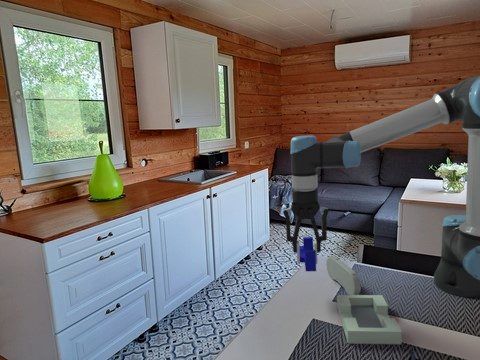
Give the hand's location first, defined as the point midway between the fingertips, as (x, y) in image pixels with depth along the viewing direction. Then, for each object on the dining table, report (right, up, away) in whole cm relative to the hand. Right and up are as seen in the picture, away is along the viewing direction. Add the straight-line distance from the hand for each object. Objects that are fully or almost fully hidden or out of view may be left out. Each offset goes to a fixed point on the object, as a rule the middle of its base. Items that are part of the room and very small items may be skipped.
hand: (307, 261), depth 110 cm
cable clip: (0, -1, 0) cm, 1 cm away
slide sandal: (+13, -10, +9) cm, 19 cm away
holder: (+14, -14, -12) cm, 23 cm away
